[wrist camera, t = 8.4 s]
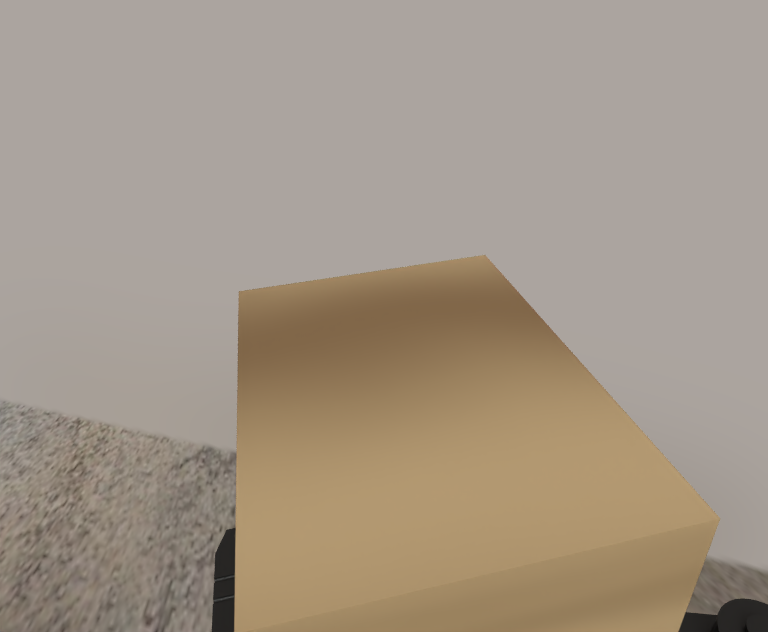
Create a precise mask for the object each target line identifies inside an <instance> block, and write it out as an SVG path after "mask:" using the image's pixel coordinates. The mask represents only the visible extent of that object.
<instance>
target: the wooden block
mask: <svg viewBox="0 0 768 632" xmlns="http://www.w3.org/2000/svg"><path fill="white" fill-rule="evenodd" d="M238 316H239V317H238V390H237V392H238V395H237V466H236V541H235V617H234V632H678V631H679V628H680V626H681V623H682V620H683V618H684V615H685V612H686V610H687V607H688V604H689V602H690V599H691V596H692V593H693V591H694V588H695V585H696V583H697V580H698V577H699V575H700V572H701V569H702V567H703V564H704V561H705V558H706V556H707V553H708V550H709V548H710V545H711V542H712V540H713V537H714V534H715V531H716V529H717V526H718V523H719V521H720V518H719V517H718V515H717V514H716V513H715V512H714V511H713V510H712V509H711V508H710V507H709V505H708V504H707V503H706V502H705V501H704V500H703V499H702V498H701V497H700V495H699V494H698V493H697V492H696V491H695V490H694V489H693V487H692V486H691V485H690V484H689V483H688V482H687V481H686V480H685V478H684V477H683V476H682V475H681V474H680V473H679V472H678V471H677V470H676V468H675V467H674V466H673V465H672V464H671V463H670V462H669V461H668V460H667V458H666V457H665V456H664V455H663V454H662V453H661V452H660V451H659V449H658V448H657V447H656V446H655V445H654V444H653V443H652V442H651V440H650V439H649V438H648V437H647V436H646V435H645V434H644V433H643V431H642V430H641V429H640V428H639V427H638V426H637V425H636V424H635V422H634V421H633V420H632V419H631V418H630V417H629V416H628V415H627V414H626V412H625V411H624V410H623V409H622V408H621V407H620V406H619V405H618V404H617V402H616V401H615V400H614V399H613V398H612V397H611V396H610V394H609V393H608V392H607V391H606V390H605V389H604V388H603V387H602V385H601V384H600V383H599V382H598V381H597V380H596V379H595V378H594V377H593V375H592V374H591V373H590V372H589V371H588V370H587V369H586V368H585V367H584V365H583V364H582V363H581V362H580V361H579V360H578V359H577V357H576V356H575V355H574V354H573V353H572V352H571V351H570V350H569V349H568V347H567V346H566V345H565V344H564V343H563V342H562V341H561V340H560V338H559V337H558V336H557V335H556V334H555V333H554V332H553V331H552V330H551V328H550V327H549V326H548V325H547V324H546V323H545V322H544V320H543V319H542V318H541V317H540V316H539V315H538V314H537V313H536V312H535V310H534V309H533V308H532V307H531V306H530V305H529V304H528V303H527V302H526V301H525V299H524V298H523V297H522V296H521V295H520V294H519V292H517V290H516V289H515V288H514V287H513V286H512V285H511V283H510V282H509V281H508V280H507V279H506V278H505V277H504V276H503V275H502V273H501V272H500V271H499V270H498V269H497V268H496V267H495V266H494V265H493V263H492V262H491V261H490V260H489V259H488V258H487V257H486V256H485V255H482V256H475V257H468V258H461V259H455V260H448V261H441V262H435V263H428V264H421V265H414V266H408V267H401V268H395V269H387V270H380V271H374V272H367V273H360V274H354V275H348V276H340V277H333V278H326V279H320V280H313V281H306V282H299V283H293V284H286V285H279V286H272V287H266V288H259V289H252V290H245V291H239V314H238Z"/></svg>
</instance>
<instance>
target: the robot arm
mask: <svg viewBox="0 0 768 632" xmlns="http://www.w3.org/2000/svg"><path fill="white" fill-rule="evenodd" d="M235 541H236V528H233V529H229V530H226V532H225V535H224V537H223V539H222V541H221V543H220V545H219V547H218V549H217V551H216V553H215V573H214V579H215V583H214V595H213V600H214V604H213V616H212V632H234V617H235ZM678 632H768V605H767V604H765V603H762V602H759V601H756V600H751V599H735V600H731V601H729V602H727V603H725V604H724V605H723V606H722V607H721V609H720V611H719V613H718V615H709V614H698V613H687V612H685V615H684V618H683V620H682V623H681V626H680V628H679V631H678Z"/></svg>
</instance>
